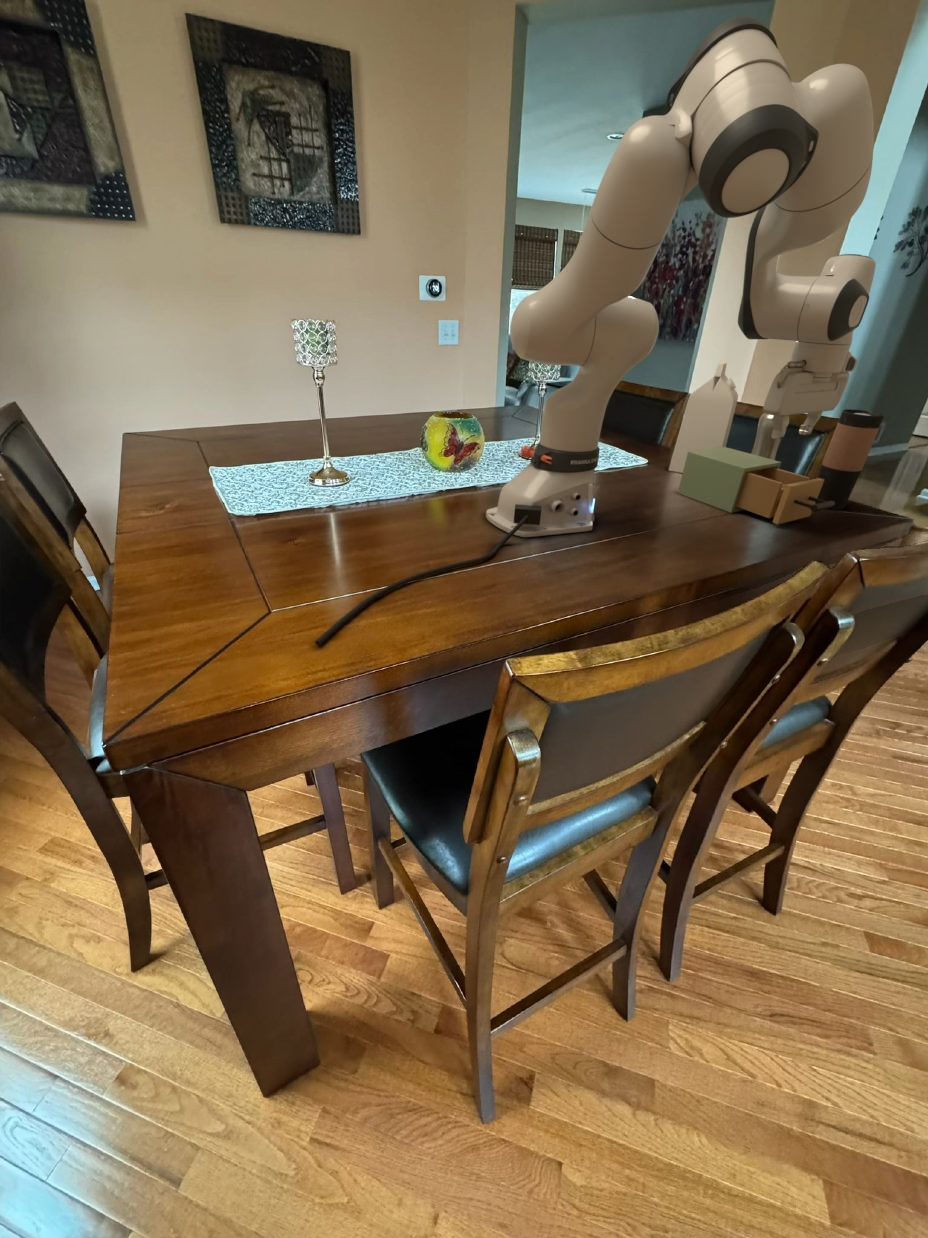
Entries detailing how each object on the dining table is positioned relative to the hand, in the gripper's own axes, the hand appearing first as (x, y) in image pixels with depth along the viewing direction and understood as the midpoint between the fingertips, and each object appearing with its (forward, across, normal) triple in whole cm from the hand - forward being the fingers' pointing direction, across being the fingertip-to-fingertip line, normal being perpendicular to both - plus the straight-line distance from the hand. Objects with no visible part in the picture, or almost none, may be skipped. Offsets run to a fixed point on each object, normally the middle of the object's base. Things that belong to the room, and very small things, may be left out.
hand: (790, 436), depth 107 cm
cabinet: (+16, 0, +11) cm, 19 cm away
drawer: (+15, 0, -2) cm, 15 cm away
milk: (+16, +15, +30) cm, 38 cm away
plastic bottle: (+16, +21, +16) cm, 31 cm away
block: (+14, 0, -1) cm, 14 cm away
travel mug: (+16, +20, -3) cm, 26 cm away
